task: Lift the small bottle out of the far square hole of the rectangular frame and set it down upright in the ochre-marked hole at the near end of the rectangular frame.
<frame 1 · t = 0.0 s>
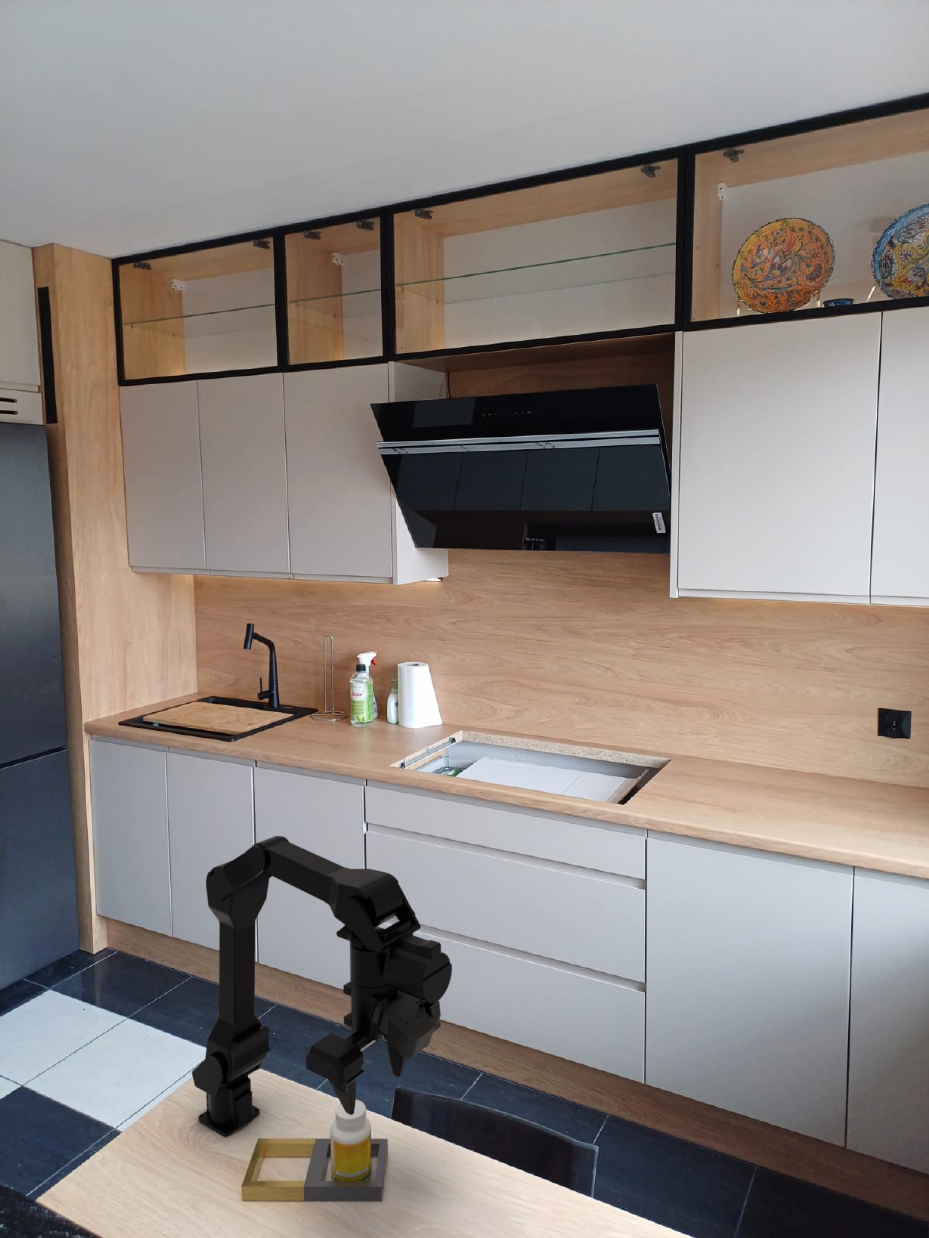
hand: (374, 1093, 111), 15 cm above the table, tool pointing down, fingers open, 9 cm apart
supplement bottle: (351, 1177, 117), resting in rectangular frame
rectangular frame: (317, 1175, 117), on the table
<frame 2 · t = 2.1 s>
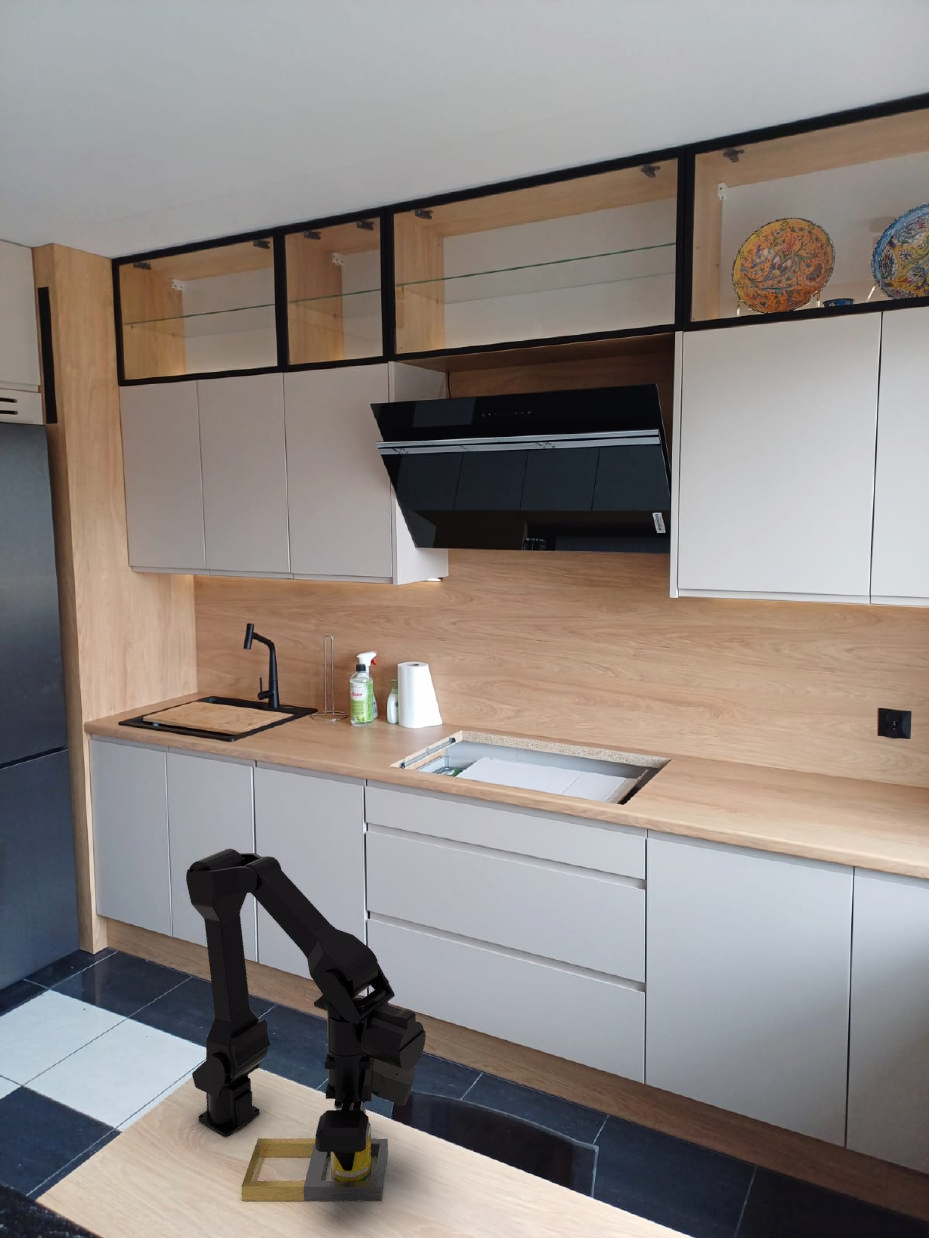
hand: (350, 1154, 117), 3 cm above the table, tool pointing down, fingers closed on supplement bottle, 5 cm apart
supplement bottle: (351, 1176, 117), resting in rectangular frame, touching gripper
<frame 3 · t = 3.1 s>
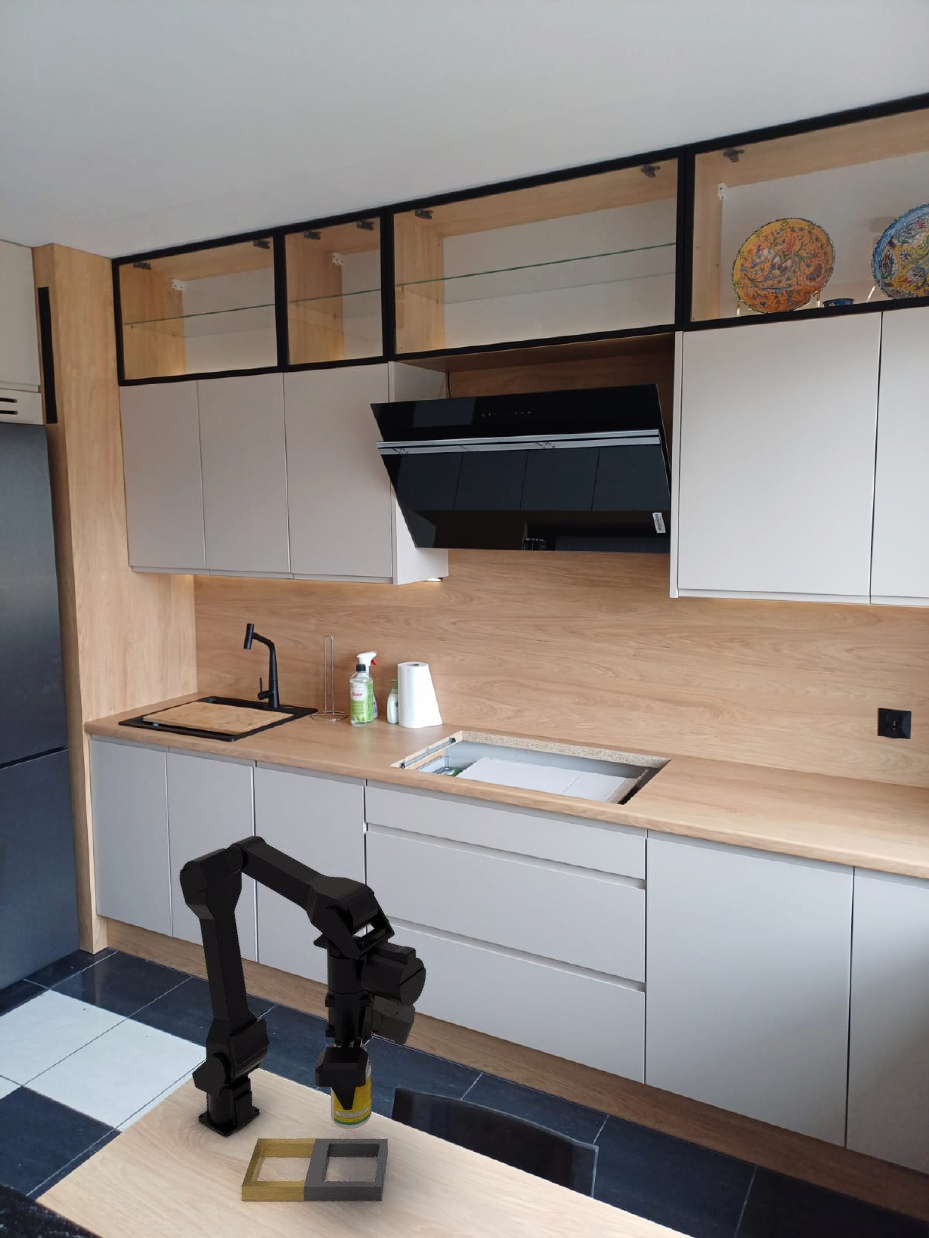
hand: (350, 1095, 116), 11 cm above the table, tool pointing down, fingers closed on supplement bottle, 5 cm apart
supplement bottle: (351, 1118, 117), point 8 cm above the table, touching gripper
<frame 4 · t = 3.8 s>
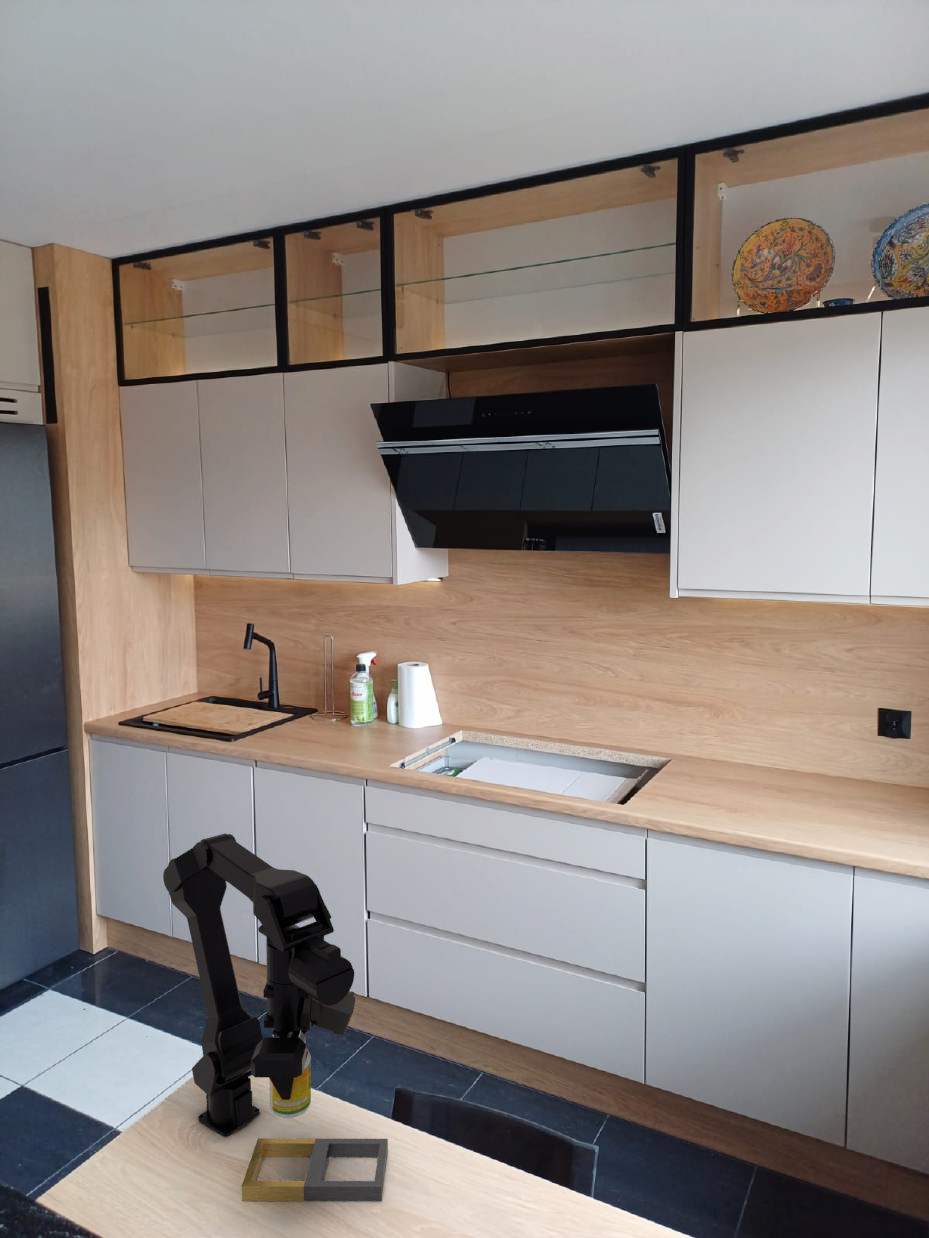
hand: (290, 1084, 116), 13 cm above the table, tool pointing down, fingers closed on supplement bottle, 5 cm apart
supplement bottle: (290, 1107, 117), point 9 cm above the table, touching gripper
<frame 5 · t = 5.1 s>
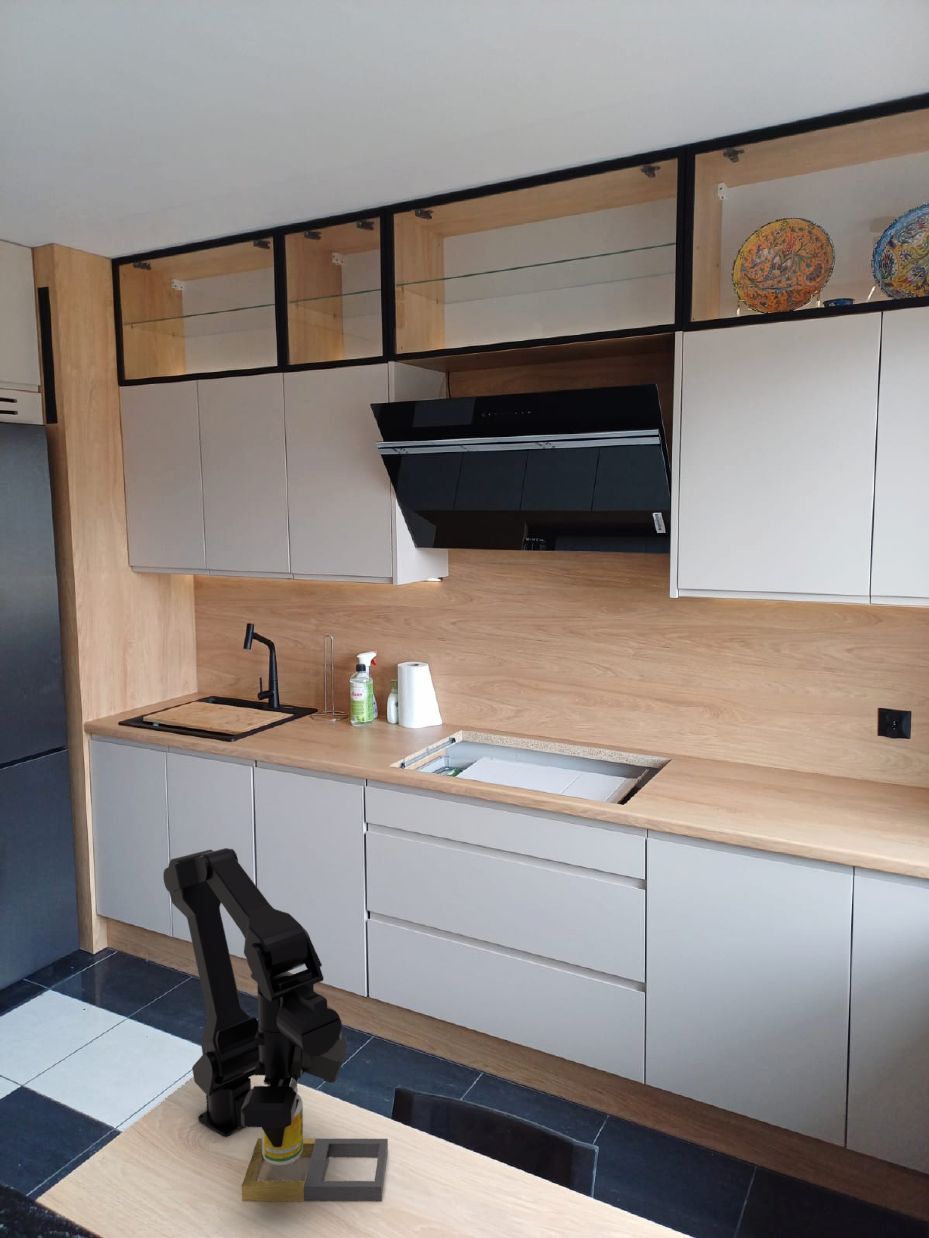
hand: (282, 1131, 117), 6 cm above the table, tool pointing down, fingers closed on supplement bottle, 5 cm apart
supplement bottle: (282, 1153, 117), point 3 cm above the table, touching gripper
when the fingers open (4 cm above the table, at t = 5.9 s): supplement bottle drops 1 cm, resting in rectangular frame.
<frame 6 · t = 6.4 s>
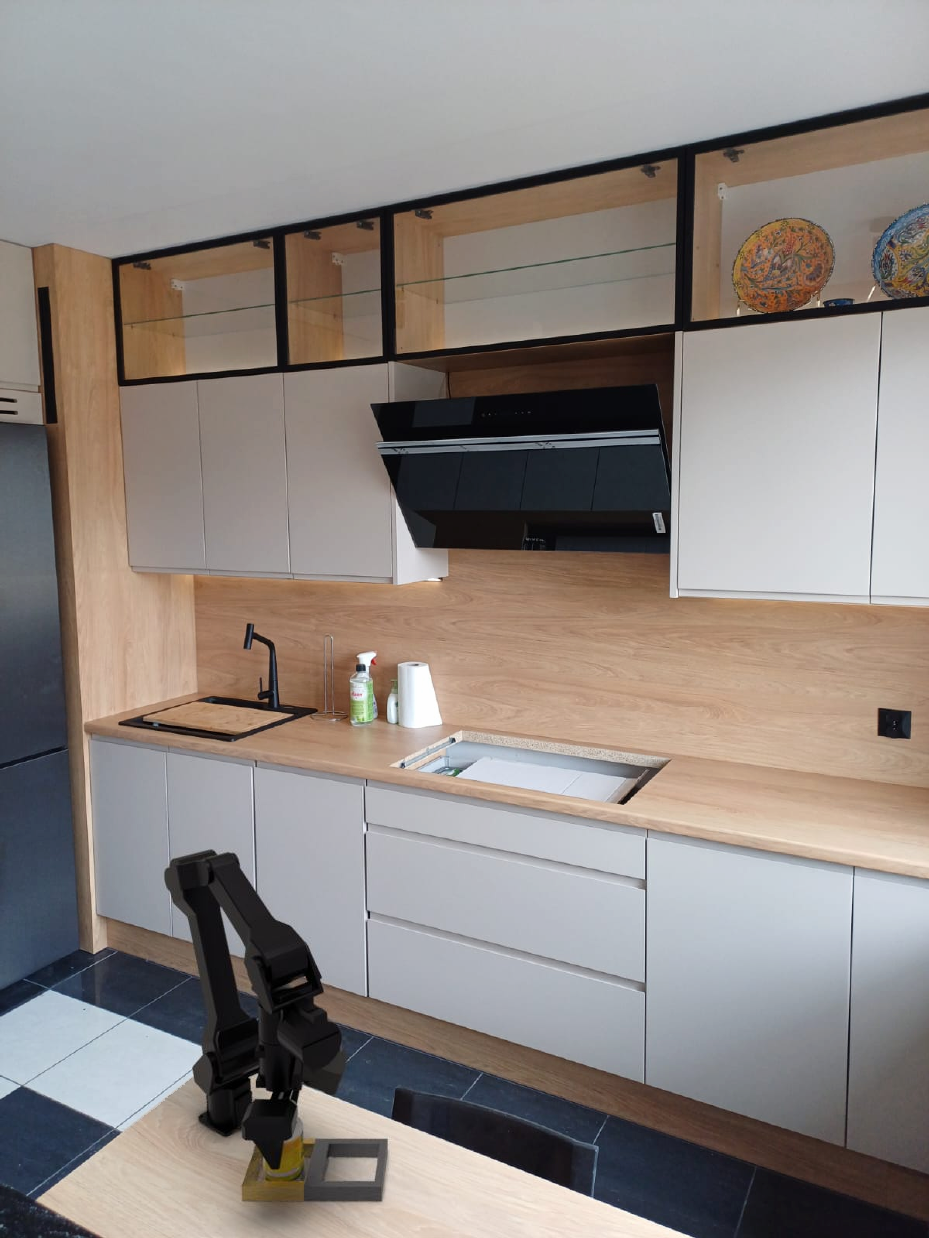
hand: (283, 1143, 117), 4 cm above the table, tool pointing down, fingers open, 9 cm apart
supplement bottle: (283, 1176, 117), resting in rectangular frame
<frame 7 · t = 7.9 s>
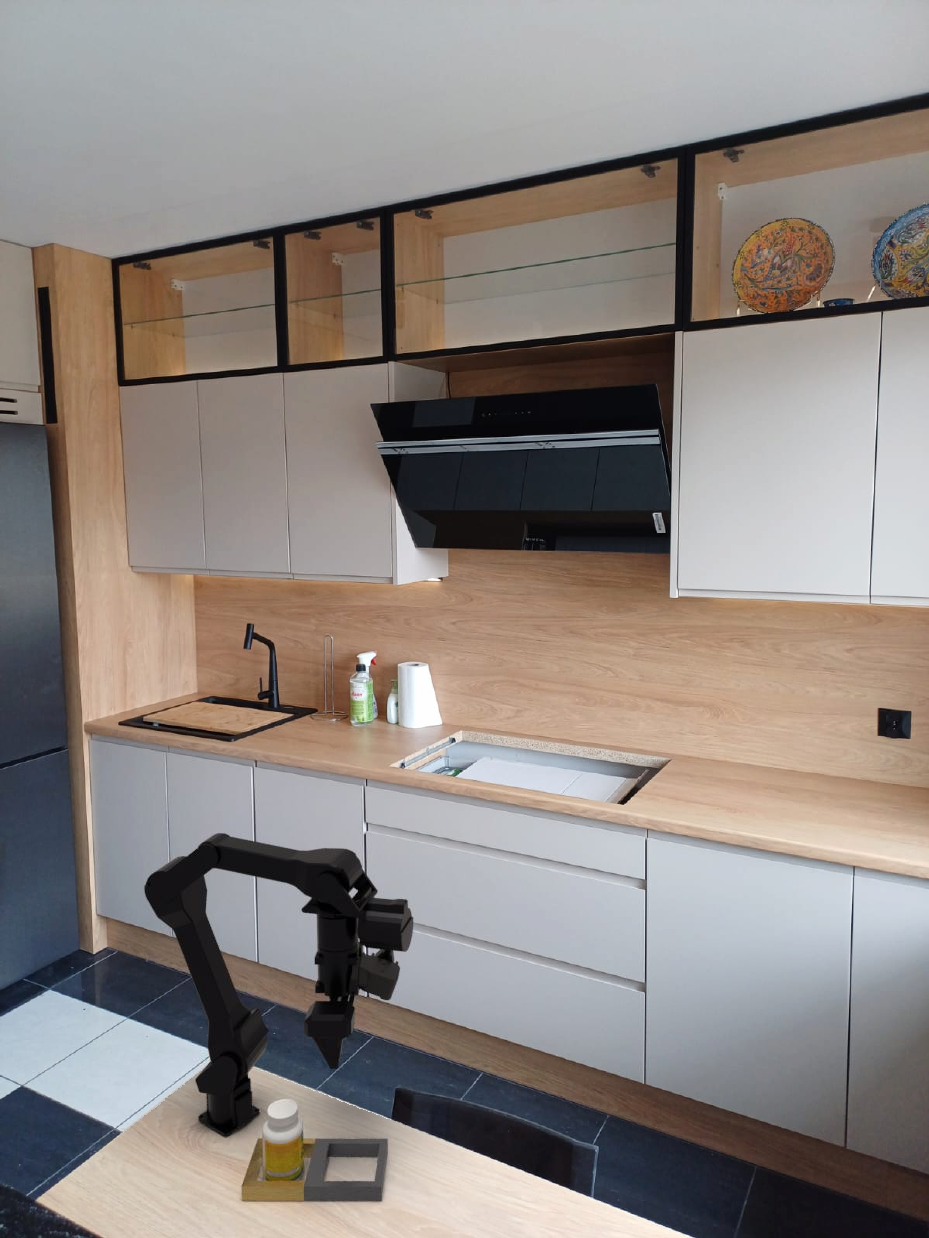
hand: (339, 1048, 124), 13 cm above the table, tool pointing down, fingers open, 9 cm apart
nothing on the table moved.
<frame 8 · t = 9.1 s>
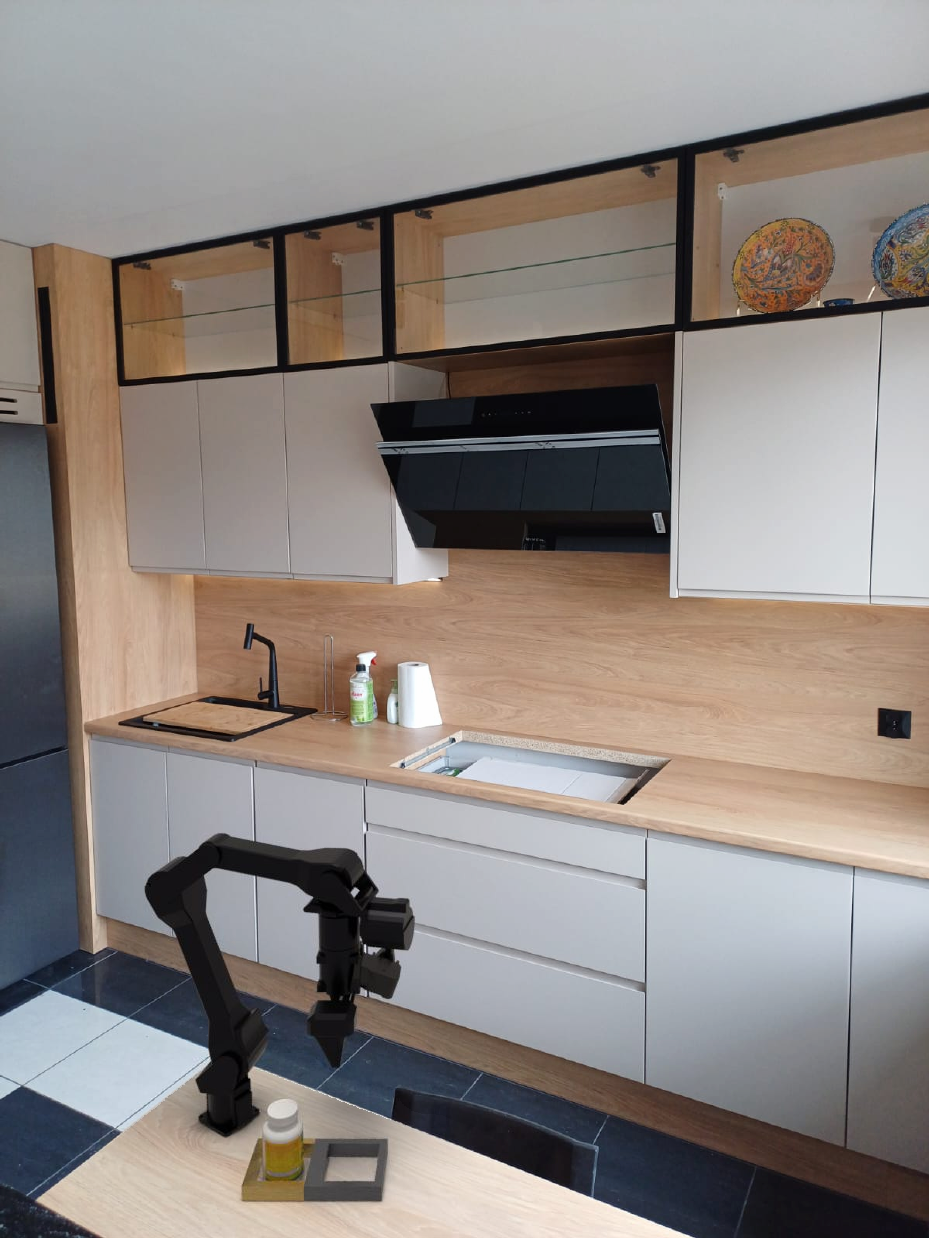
hand: (340, 1047, 124), 13 cm above the table, tool pointing down, fingers open, 9 cm apart
nothing on the table moved.
at the end: supplement bottle 0.1 cm from the target spot, resting in rectangular frame; supplement bottle tilted 0°; the gripper is holding nothing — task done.
